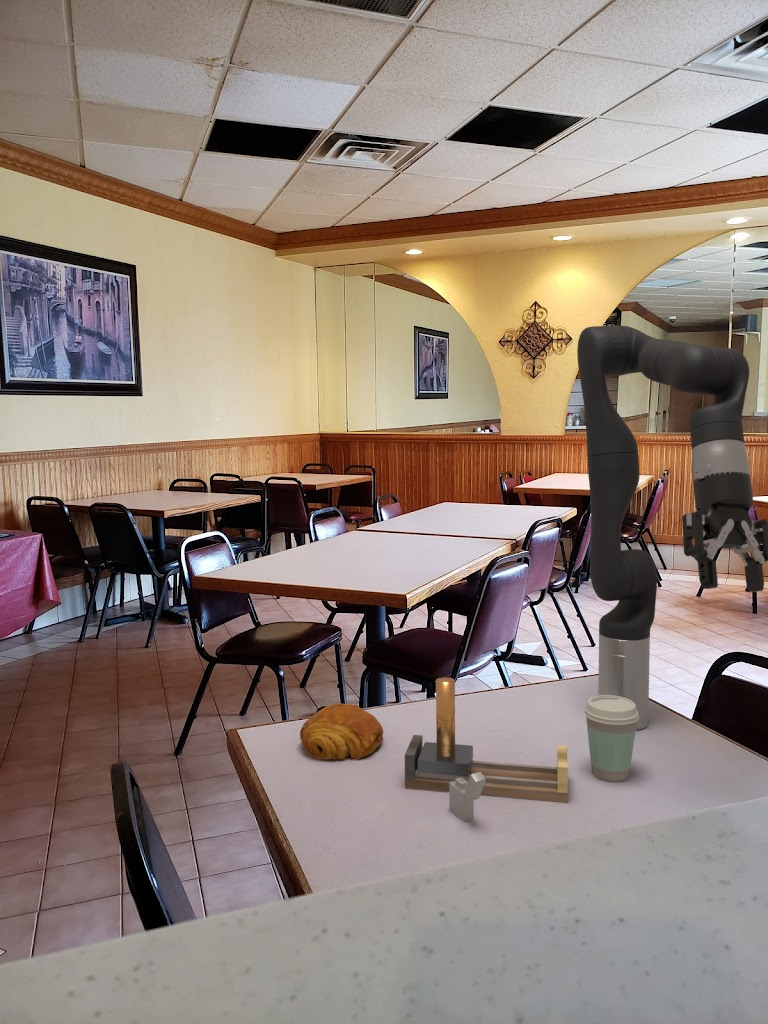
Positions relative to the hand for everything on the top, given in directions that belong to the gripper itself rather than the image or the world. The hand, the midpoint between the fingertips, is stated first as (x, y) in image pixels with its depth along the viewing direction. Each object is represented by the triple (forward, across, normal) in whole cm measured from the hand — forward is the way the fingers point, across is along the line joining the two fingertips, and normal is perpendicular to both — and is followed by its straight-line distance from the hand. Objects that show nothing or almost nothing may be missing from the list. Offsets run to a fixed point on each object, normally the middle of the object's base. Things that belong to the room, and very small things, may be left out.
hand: (733, 589), depth 104 cm
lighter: (+32, +28, -26) cm, 50 cm away
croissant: (+24, +36, -57) cm, 71 cm away
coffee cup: (+27, 0, -28) cm, 39 cm away
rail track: (+28, +20, -34) cm, 48 cm away
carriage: (+25, +26, -37) cm, 52 cm away
